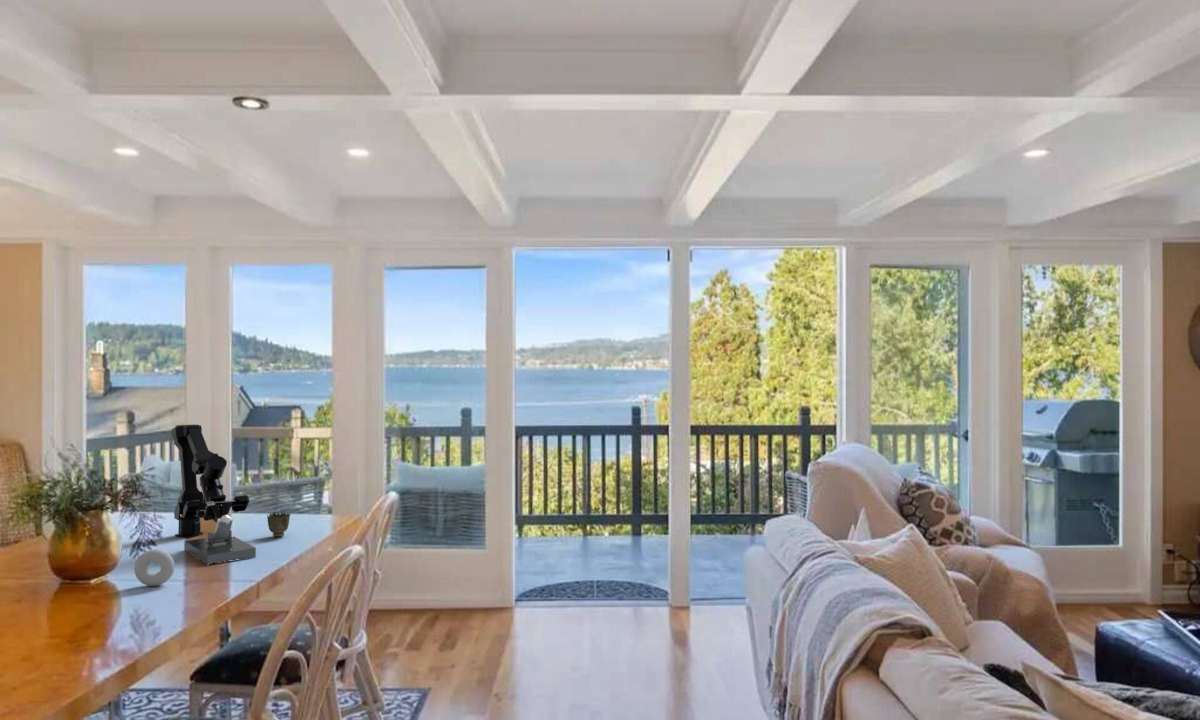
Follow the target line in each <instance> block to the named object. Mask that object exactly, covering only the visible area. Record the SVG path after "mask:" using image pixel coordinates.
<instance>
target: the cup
mask: <svg viewBox="0 0 1200 720" xmlns="http://www.w3.org/2000/svg"><path fill="white" fill-rule="evenodd" d="M266 515H267V517H266V518H267V524H268V529H269V531H270V532H271V533H272V537H273V538H278V537H279V538H283V537H284V536H285V533H284V532H286V531H287V530H288V527H289V526H290V525H289V524H290V517H291V513H289V512H283V511H282V512H281V513H280V512H277V513H276V512H273V513H269V514H266Z"/></svg>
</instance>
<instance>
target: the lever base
mask: <svg viewBox="0 0 1200 720" xmlns="http://www.w3.org/2000/svg"><path fill="white" fill-rule="evenodd" d="M213 534H214V532H210V531H209V532H207V537H203V538H197V539H196V538H195V539H190V540H184V551H185V552H186V551H187V552H186V553H188V552H189V553H190V554H189V553H188V554H189V555H191V554H192V555H191V556H193V555H194V556H195V557H194V556H193V557H194V558H196V557H197V558H199V559H200V560H202V561H204V562H205V563H207V564H211V563H218V562H224V561H229V560H236V559H242V560H246V559H245V558H248V559H253V558H252V557H254V558H256V557H257V555H256V554H257V547H255V546H253V545H251V544H250V543H248V542H245V541H244V540H242V539H240V538H238V537H236V536H235V535H233V534H232V530H231V529H230V532H229V535H228V539H227V542H222V543H215V544H213ZM197 558H196V559H197ZM199 559H198V560H199ZM200 560H199V561H200ZM202 561H201V562H202ZM236 561H237V560H236ZM205 563H204V564H205ZM224 563H225V562H224ZM218 564H219V563H218Z"/></svg>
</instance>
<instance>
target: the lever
mask: <svg viewBox="0 0 1200 720" xmlns="http://www.w3.org/2000/svg"><path fill="white" fill-rule="evenodd" d="M233 521H234V520H233V517H232V516H230V515H229V514H227V515H223V516H222V517H221V518H219V519H218V520H217V523H215V527H214V531H213V544H215V543H222V542H227V539H228V535H229V532H230V530H231V528H232V524H233Z"/></svg>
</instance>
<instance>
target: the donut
mask: <svg viewBox="0 0 1200 720" xmlns="http://www.w3.org/2000/svg"><path fill="white" fill-rule="evenodd" d="M152 563H157V564H158V565H159V566H160V570H159V571H158V572H157V573H154V572H151V570H150V569H149V567H150V565H151V564H152ZM174 573H175V561H174V559H173V557H172V556H171V555H170V554H169V553H168V552H167V551H164V549H163V550H162V549H156V548H155V549H151V550H147V551H144V552H143V553H142V554H141V555H140V556H139V557H138V558H137V559H136V561H135V563H134V575H135V577H136V579H137V580H138V582H140V583H141V584H143V585H146V586H148V587H156V586H161V585H164V584H165V583H167V582H168V580H170V579H171V577H172V576H173V574H174Z"/></svg>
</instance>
